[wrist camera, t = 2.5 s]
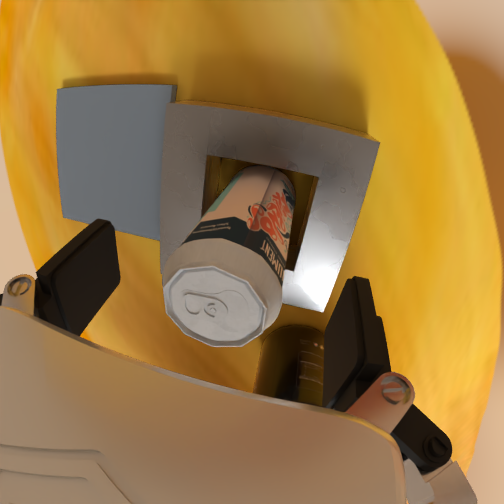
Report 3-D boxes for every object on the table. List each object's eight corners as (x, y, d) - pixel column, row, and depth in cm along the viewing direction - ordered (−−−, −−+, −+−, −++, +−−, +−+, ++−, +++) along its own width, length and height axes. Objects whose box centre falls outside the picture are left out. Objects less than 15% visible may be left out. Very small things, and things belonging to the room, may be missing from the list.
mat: (167, 236, 24) (163, 241, 23) (68, 213, 25) (63, 217, 24) (177, 85, 18) (172, 85, 17) (63, 88, 18) (57, 89, 18)
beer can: (290, 231, 22) (270, 364, 12) (226, 221, 22) (159, 340, 12) (300, 168, 19) (289, 267, 9) (230, 158, 20) (145, 242, 10)
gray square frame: (322, 283, 23) (323, 312, 20) (178, 250, 24) (160, 273, 21) (367, 133, 17) (380, 142, 14) (188, 99, 18) (166, 102, 15)
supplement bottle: (301, 376, 30) (289, 479, 20) (249, 348, 29) (220, 456, 19) (348, 345, 27) (351, 461, 16) (293, 310, 25) (276, 437, 15)
